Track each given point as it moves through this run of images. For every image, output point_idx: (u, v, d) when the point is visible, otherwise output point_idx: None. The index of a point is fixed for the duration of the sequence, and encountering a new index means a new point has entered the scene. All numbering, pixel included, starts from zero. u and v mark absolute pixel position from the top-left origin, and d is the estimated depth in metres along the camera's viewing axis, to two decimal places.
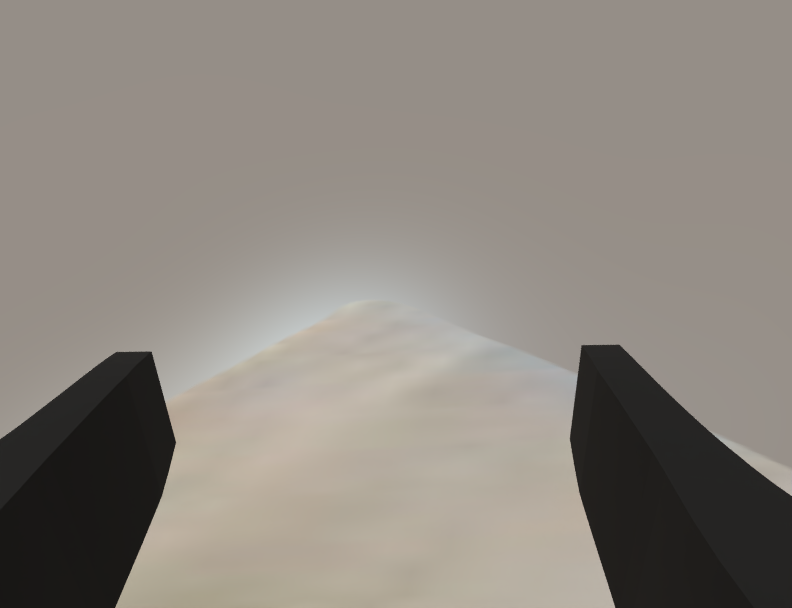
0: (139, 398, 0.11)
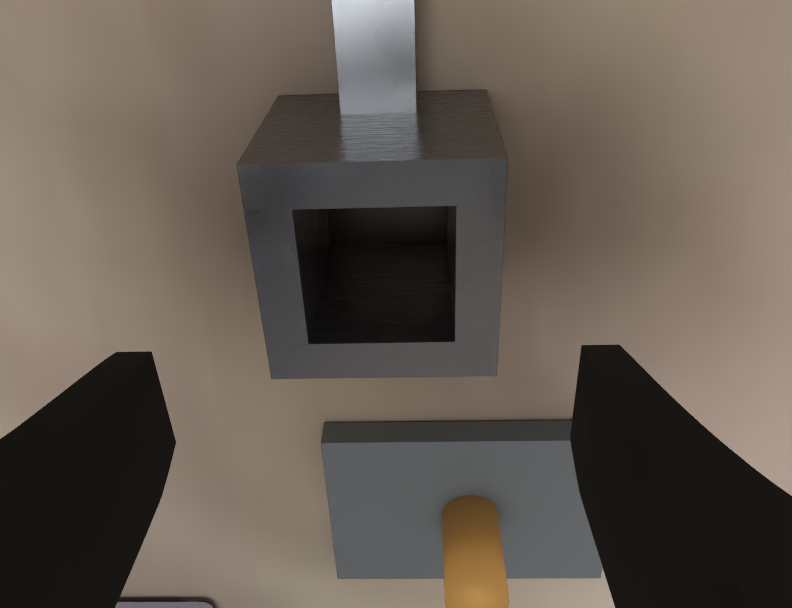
0: (139, 398, 0.11)
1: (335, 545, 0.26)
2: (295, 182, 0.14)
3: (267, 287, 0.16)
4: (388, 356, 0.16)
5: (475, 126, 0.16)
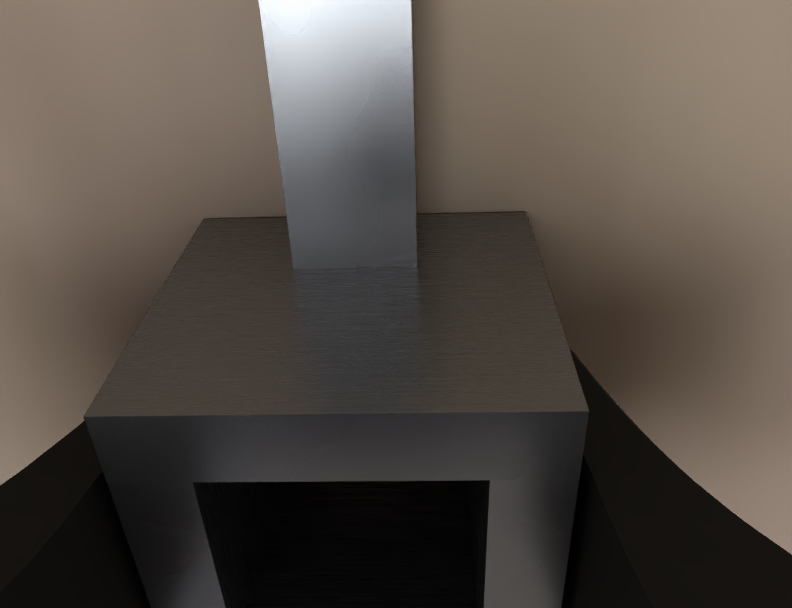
0: None
1: None
2: (194, 444, 0.08)
3: (161, 584, 0.09)
4: None
5: (517, 308, 0.09)
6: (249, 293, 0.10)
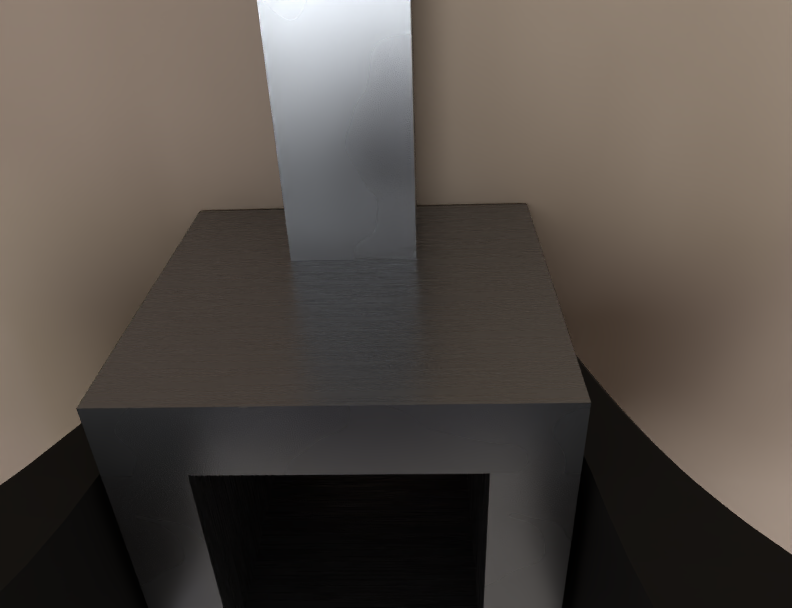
0: None
1: None
2: (189, 436, 0.08)
3: (157, 580, 0.09)
4: None
5: (519, 300, 0.09)
6: (246, 285, 0.10)
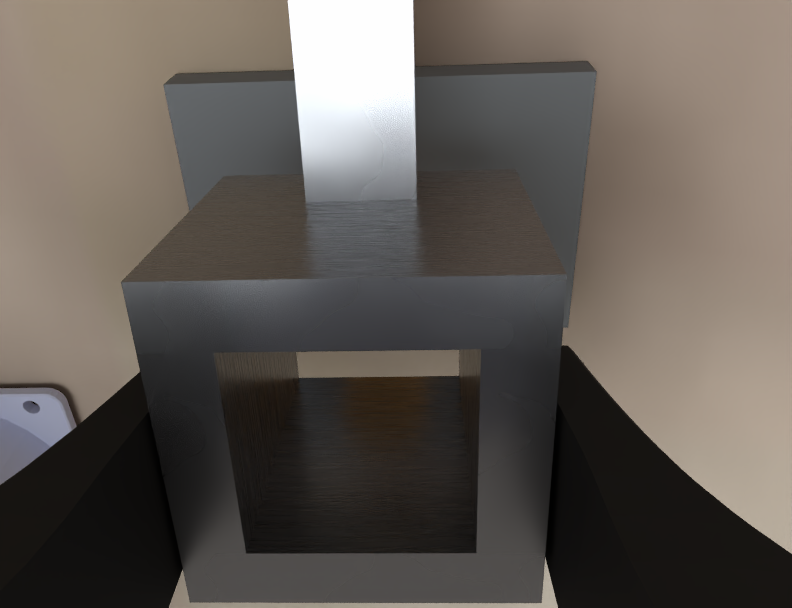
0: None
1: None
2: (217, 310, 0.09)
3: (178, 469, 0.10)
4: (371, 574, 0.11)
5: (506, 220, 0.10)
6: (266, 215, 0.11)
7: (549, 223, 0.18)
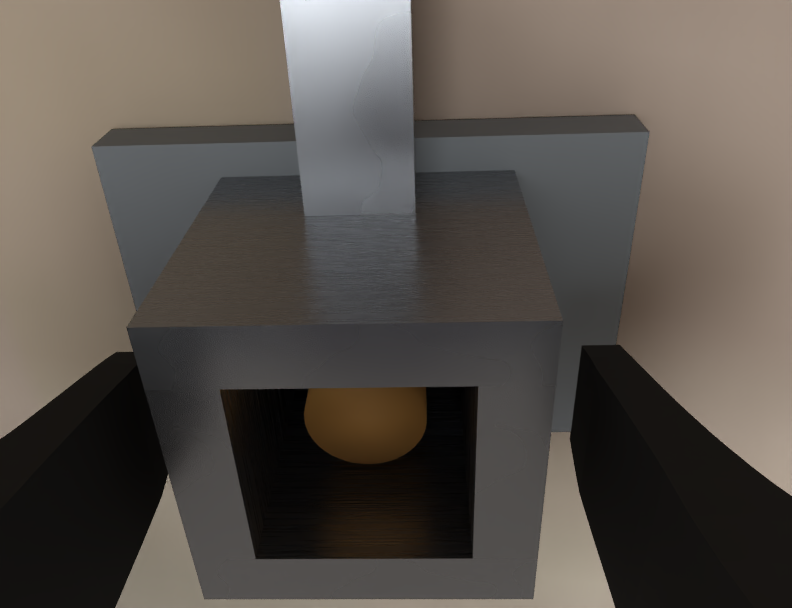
0: (139, 398, 0.11)
1: None
2: (222, 353, 0.09)
3: (189, 489, 0.10)
4: (374, 575, 0.11)
5: (503, 245, 0.10)
6: (266, 235, 0.11)
7: (583, 313, 0.14)
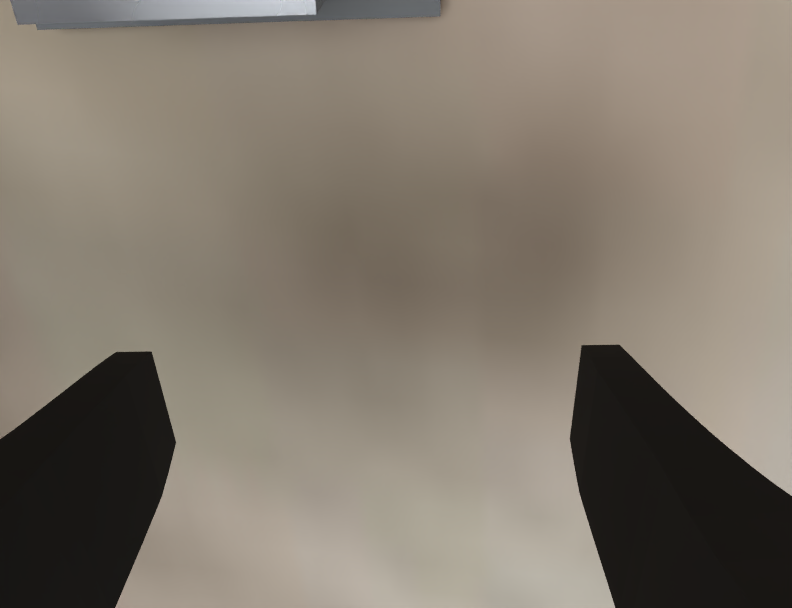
0: (139, 398, 0.11)
1: None
2: None
3: None
4: None
5: None
6: None
7: None
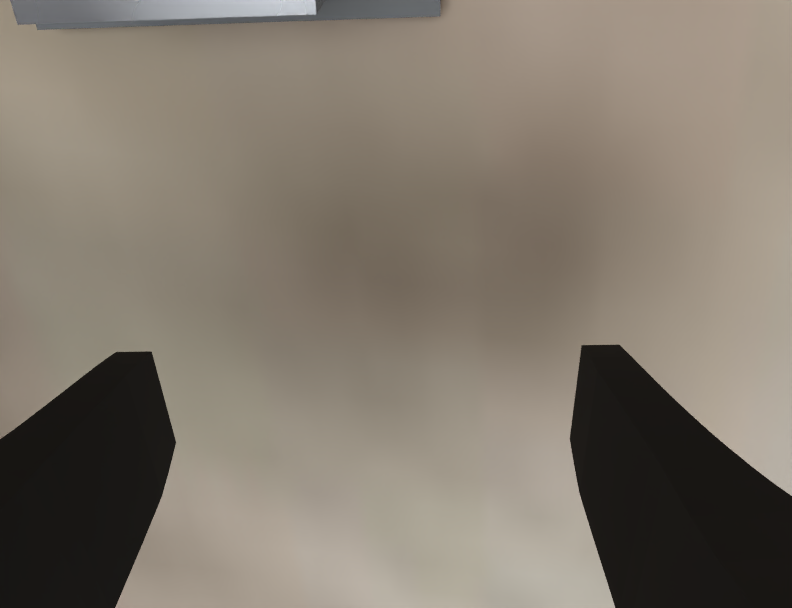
0: (139, 398, 0.11)
1: None
2: None
3: None
4: None
5: None
6: None
7: None
